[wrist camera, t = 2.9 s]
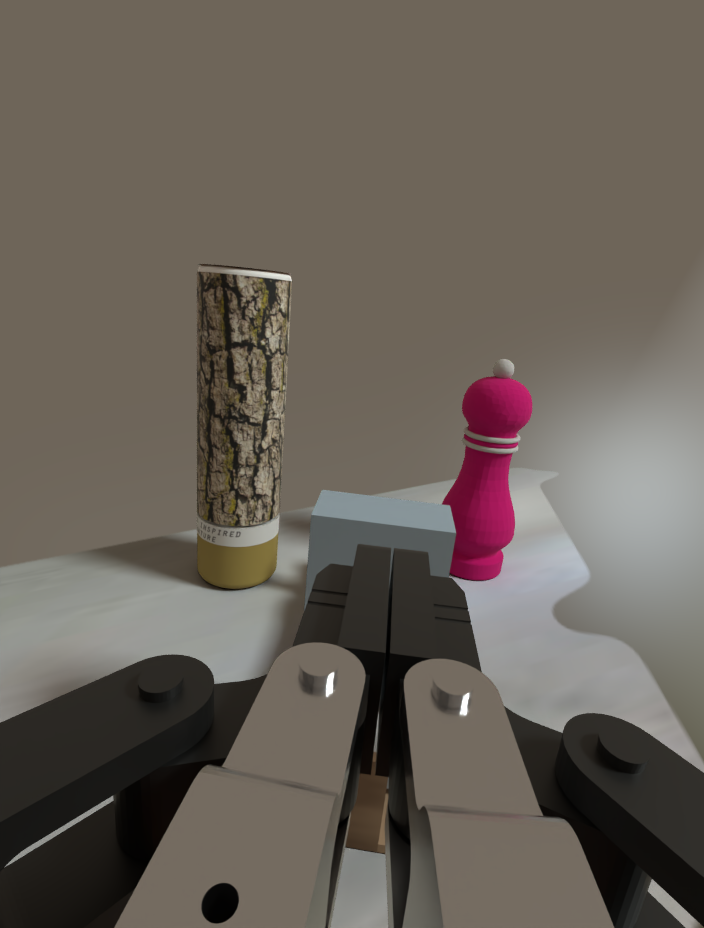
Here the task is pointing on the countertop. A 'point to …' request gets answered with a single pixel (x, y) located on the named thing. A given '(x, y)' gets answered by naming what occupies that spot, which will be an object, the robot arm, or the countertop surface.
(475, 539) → the pepper mill
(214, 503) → the paper tube
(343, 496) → the light blue block
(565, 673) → the countertop surface
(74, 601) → the countertop surface
